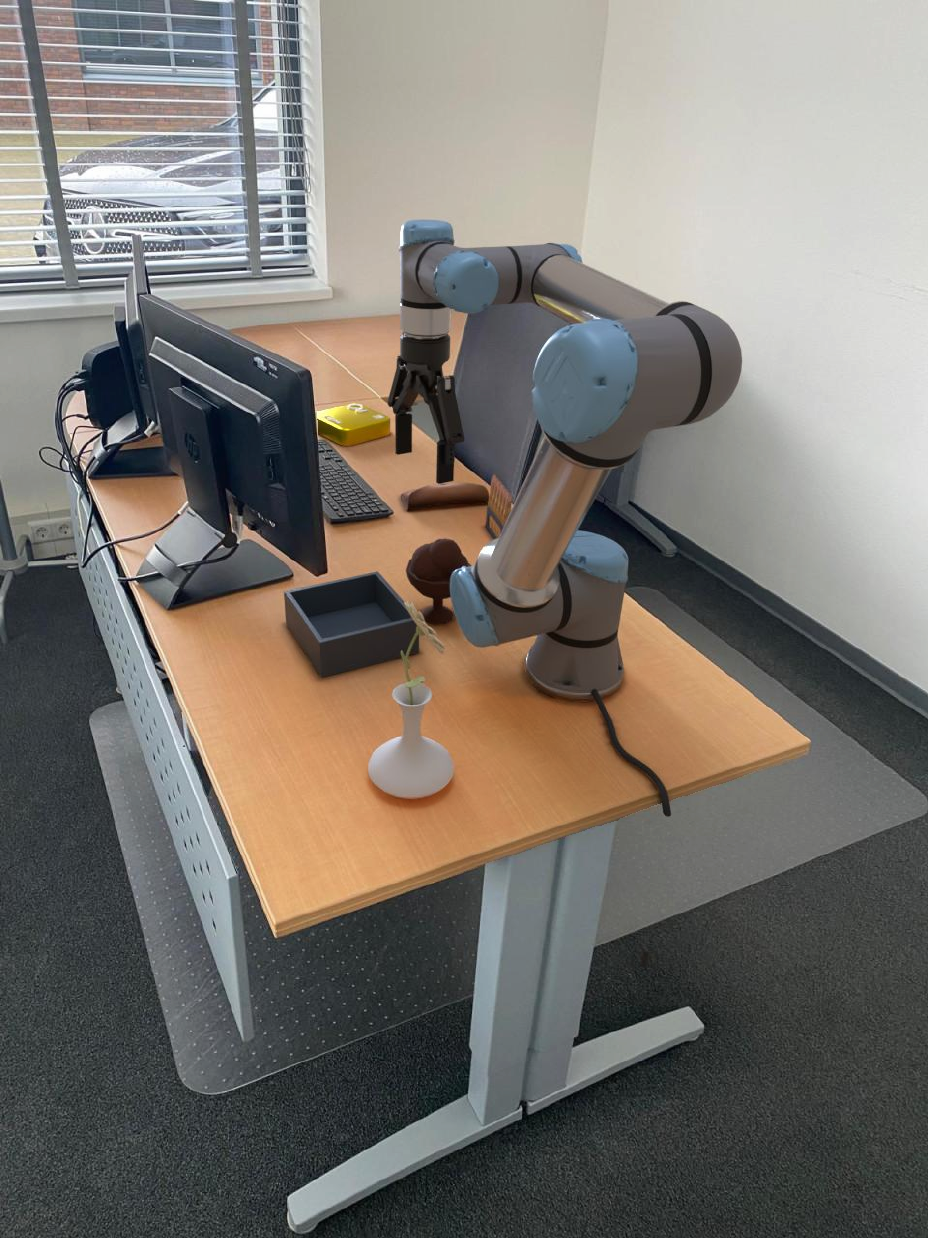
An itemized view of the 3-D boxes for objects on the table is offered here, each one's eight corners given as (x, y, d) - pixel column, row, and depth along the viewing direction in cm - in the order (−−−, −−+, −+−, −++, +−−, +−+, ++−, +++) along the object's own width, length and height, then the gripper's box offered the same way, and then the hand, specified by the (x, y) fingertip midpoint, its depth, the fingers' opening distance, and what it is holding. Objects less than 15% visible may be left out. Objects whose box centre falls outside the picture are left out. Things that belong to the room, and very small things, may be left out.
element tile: (309, 429, 227) (308, 411, 224) (357, 417, 236) (357, 399, 233) (345, 447, 218) (344, 428, 215) (393, 434, 227) (393, 416, 224)
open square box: (419, 652, 146) (419, 618, 142) (321, 678, 139) (319, 642, 136) (377, 603, 158) (377, 571, 155) (286, 624, 151) (283, 591, 148)
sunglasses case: (477, 486, 201) (483, 468, 195) (485, 513, 198) (491, 495, 192) (398, 494, 196) (401, 475, 190) (404, 521, 193) (409, 503, 187)
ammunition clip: (511, 550, 177) (515, 494, 171) (502, 551, 177) (506, 494, 170) (493, 526, 186) (497, 471, 179) (485, 527, 185) (488, 472, 179)
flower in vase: (456, 806, 117) (465, 644, 104) (367, 808, 116) (364, 645, 103) (450, 740, 128) (457, 587, 115) (368, 741, 127) (366, 587, 114)
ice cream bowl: (471, 601, 160) (475, 525, 152) (464, 636, 151) (469, 556, 143) (411, 596, 161) (412, 520, 153) (401, 630, 151) (402, 551, 143)
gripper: (491, 351, 128) (484, 490, 139) (407, 312, 146) (407, 438, 157) (446, 357, 125) (442, 499, 136) (365, 316, 143) (368, 445, 154)
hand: (423, 467), depth 146 cm, fingers open, 13 cm apart
